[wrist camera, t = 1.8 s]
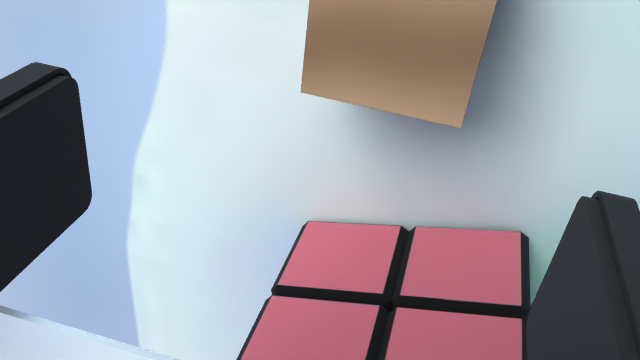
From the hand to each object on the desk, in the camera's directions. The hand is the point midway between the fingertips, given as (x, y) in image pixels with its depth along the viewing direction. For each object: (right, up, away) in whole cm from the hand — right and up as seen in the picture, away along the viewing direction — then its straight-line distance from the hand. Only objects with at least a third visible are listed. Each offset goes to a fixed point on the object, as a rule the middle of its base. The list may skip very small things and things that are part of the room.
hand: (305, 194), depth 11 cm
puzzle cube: (+5, -6, +18) cm, 19 cm away
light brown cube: (+4, +7, +10) cm, 12 cm away
